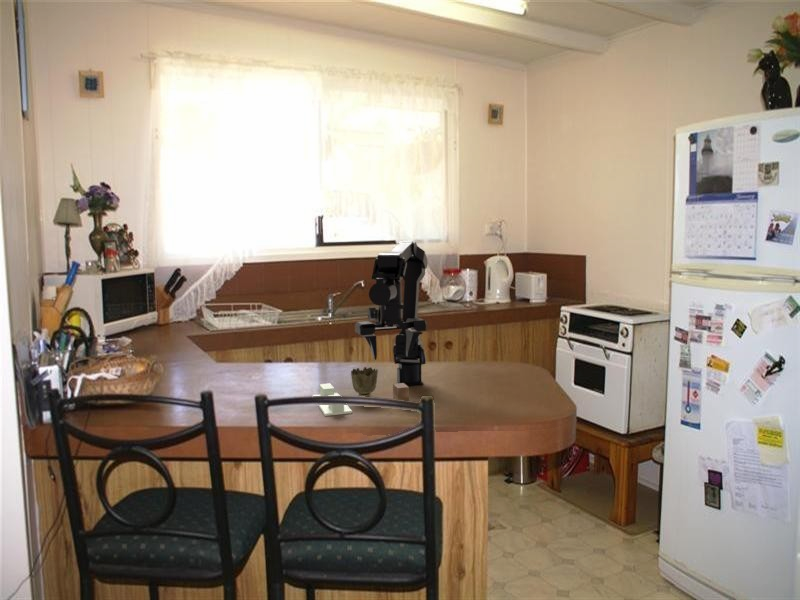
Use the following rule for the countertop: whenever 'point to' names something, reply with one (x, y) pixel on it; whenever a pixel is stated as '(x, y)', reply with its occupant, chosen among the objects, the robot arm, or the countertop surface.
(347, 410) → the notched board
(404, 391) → the brown rectangular block
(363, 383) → the cup
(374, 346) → the robot arm
